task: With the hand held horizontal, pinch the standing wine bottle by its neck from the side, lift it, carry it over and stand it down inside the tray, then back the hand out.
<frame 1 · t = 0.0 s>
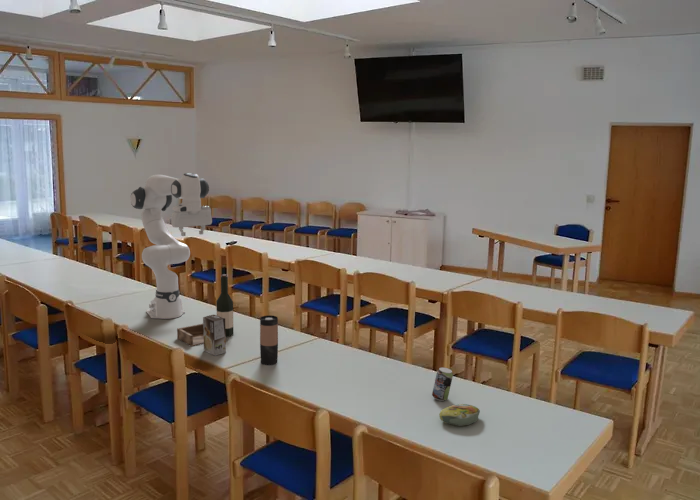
hand: (192, 235, 301), 48 cm above the table, tool pointing down, fingers open, 8 cm apart
wine bottle: (225, 334, 302), on the table
coffee box: (214, 352, 278), on the table
travel mug: (269, 362, 266), on the table
cell model: (459, 421, 215), on the table
beverage can: (441, 399, 232), on the table
tray: (198, 339, 294), on the table
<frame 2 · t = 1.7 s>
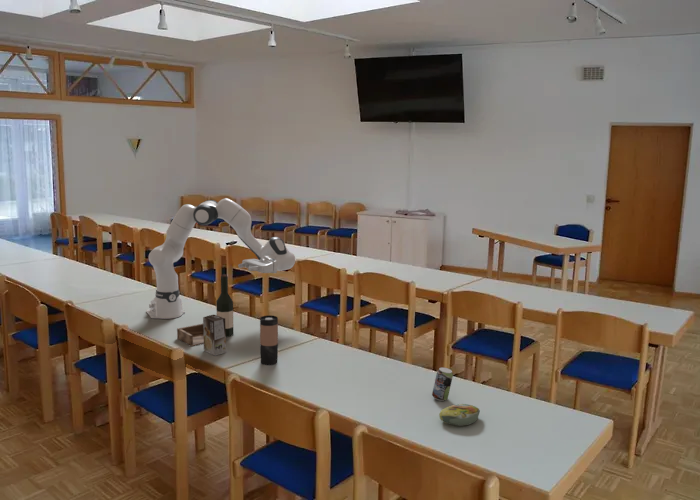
hand: (243, 267, 306), 32 cm above the table, tool horizontal, fingers open, 8 cm apart
nothing on the table moved.
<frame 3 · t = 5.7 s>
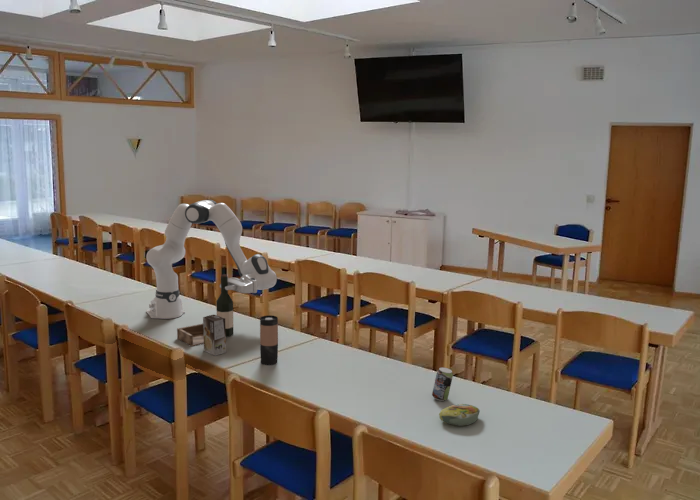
hand: (222, 287, 298), 24 cm above the table, tool horizontal, fingers closed on wine bottle, 3 cm apart
wine bottle: (225, 334, 302), on the table, touching gripper
everything else where it was.
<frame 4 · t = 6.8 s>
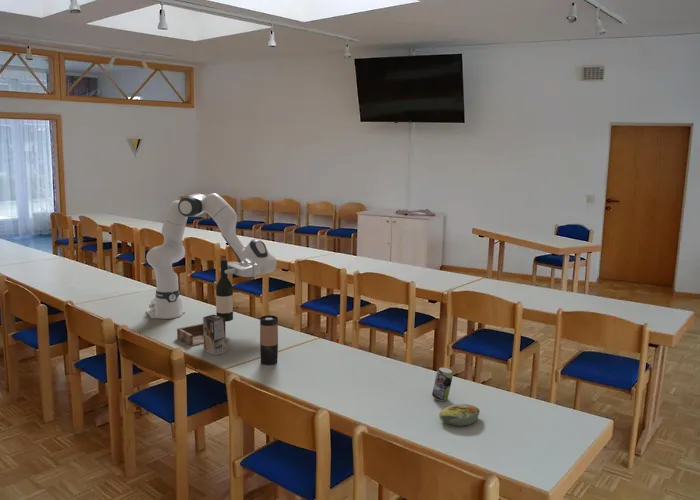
hand: (222, 270, 296), 32 cm above the table, tool horizontal, fingers closed on wine bottle, 3 cm apart
wine bottle: (224, 319, 301), point 8 cm above the table, touching gripper
everything else where it was.
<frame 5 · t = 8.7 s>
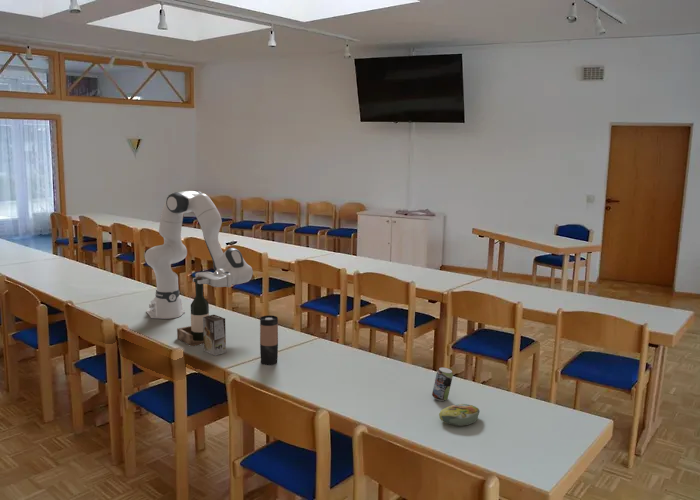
hand: (195, 281, 288), 29 cm above the table, tool horizontal, fingers closed on wine bottle, 3 cm apart
wine bottle: (200, 338, 294), resting on tray, touching gripper
everything else where it was.
when the fingers open (26 cm above the table, at t = 9.5 s): wine bottle stays where it is, resting on tray.
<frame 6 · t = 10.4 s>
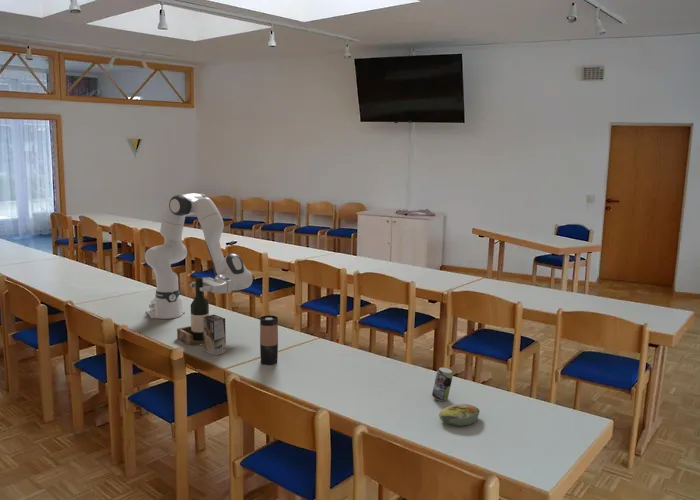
hand: (195, 287, 289), 26 cm above the table, tool horizontal, fingers open, 8 cm apart
wine bottle: (200, 338, 294), resting on tray
everything else where it was.
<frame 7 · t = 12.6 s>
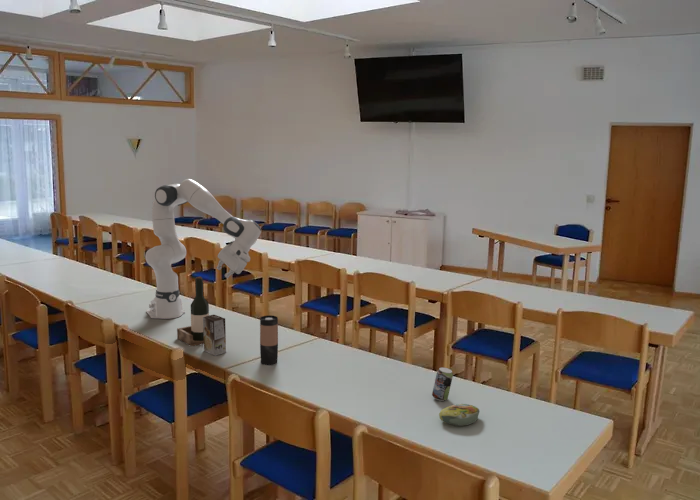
hand: (221, 273, 304), 29 cm above the table, tool tilted 35°, fingers open, 8 cm apart
nothing on the table moved.
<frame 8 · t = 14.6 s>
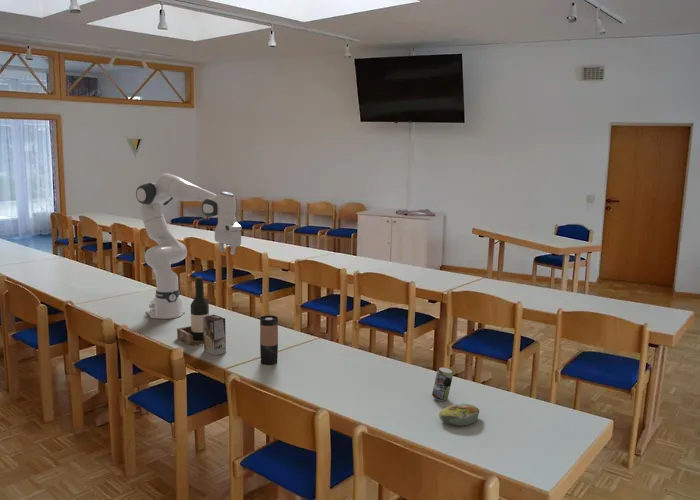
hand: (227, 252, 304), 39 cm above the table, tool pointing down, fingers open, 8 cm apart
nothing on the table moved.
at the end: wine bottle inside the target area on the tray (0.9 cm from its centre), point 0.4 cm above the tray's base; wine bottle tilted 0°; the gripper is holding nothing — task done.
